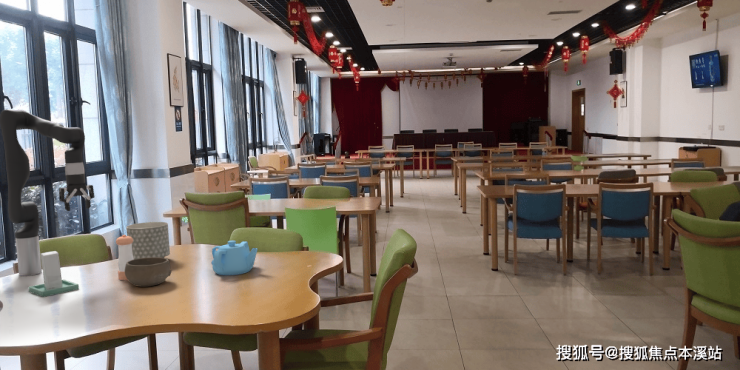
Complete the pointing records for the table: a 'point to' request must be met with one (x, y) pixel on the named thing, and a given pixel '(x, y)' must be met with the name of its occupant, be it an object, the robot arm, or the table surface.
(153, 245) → the planter
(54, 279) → the skincare box
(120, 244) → the salt shaker
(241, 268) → the teapot
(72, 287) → the tray
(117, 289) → the table surface
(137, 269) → the bowl
